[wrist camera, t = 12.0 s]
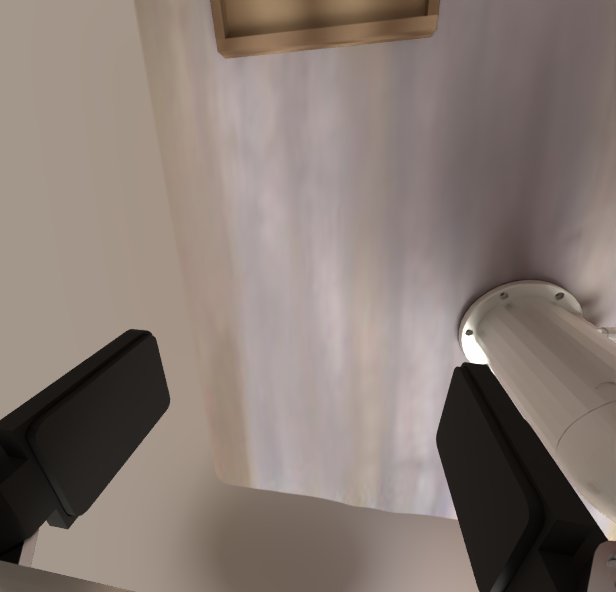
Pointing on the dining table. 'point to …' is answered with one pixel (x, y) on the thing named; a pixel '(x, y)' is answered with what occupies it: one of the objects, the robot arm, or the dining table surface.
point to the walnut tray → (317, 24)
